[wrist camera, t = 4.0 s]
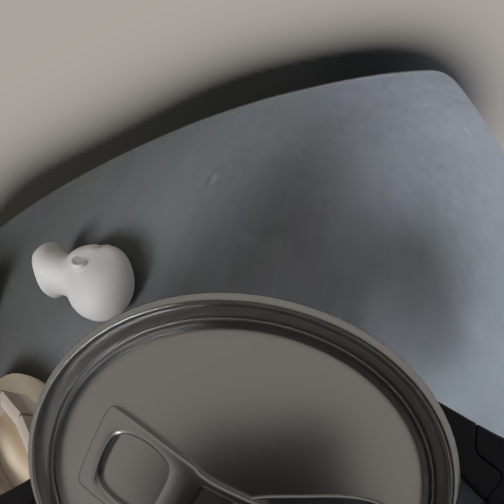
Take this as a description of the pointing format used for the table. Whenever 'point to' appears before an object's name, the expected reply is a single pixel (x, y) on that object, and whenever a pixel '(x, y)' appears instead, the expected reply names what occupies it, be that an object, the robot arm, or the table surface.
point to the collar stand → (16, 427)
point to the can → (237, 412)
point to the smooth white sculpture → (86, 278)
